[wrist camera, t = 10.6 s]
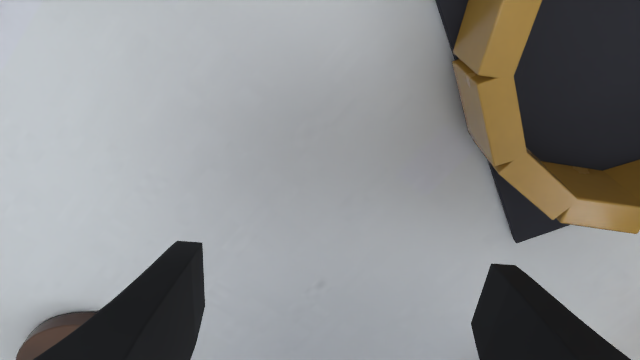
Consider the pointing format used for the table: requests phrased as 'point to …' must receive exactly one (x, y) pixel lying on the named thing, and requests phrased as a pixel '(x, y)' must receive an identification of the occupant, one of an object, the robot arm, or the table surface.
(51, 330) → the knob on round base
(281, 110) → the table surface
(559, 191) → the hoop
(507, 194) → the mat
